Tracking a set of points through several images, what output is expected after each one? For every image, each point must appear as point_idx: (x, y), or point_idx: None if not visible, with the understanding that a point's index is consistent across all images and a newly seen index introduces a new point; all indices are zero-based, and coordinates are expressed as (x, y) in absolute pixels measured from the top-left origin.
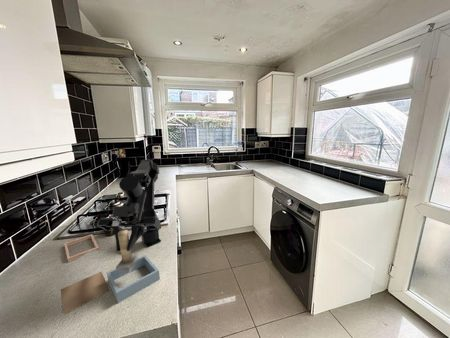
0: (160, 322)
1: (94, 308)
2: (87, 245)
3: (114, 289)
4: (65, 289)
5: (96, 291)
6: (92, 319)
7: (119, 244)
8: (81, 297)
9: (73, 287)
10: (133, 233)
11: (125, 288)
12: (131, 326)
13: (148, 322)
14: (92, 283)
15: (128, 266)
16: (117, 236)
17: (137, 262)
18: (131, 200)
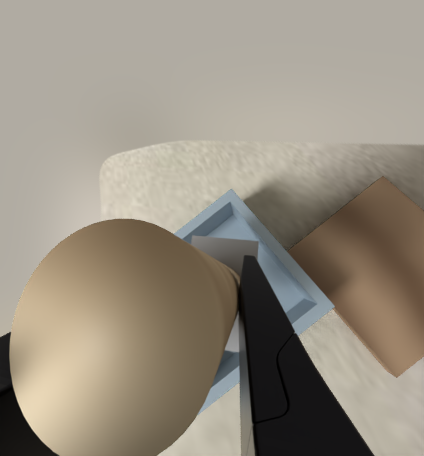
0: (124, 159)
1: (304, 205)
2: None
3: (248, 209)
4: None
5: (335, 254)
6: (287, 173)
7: (228, 272)
8: (374, 232)
9: None
10: (6, 353)
11: (209, 206)
12: (182, 153)
13: (148, 160)
14: (382, 298)
15: (195, 240)
16: (280, 368)
17: (222, 373)
18: None
